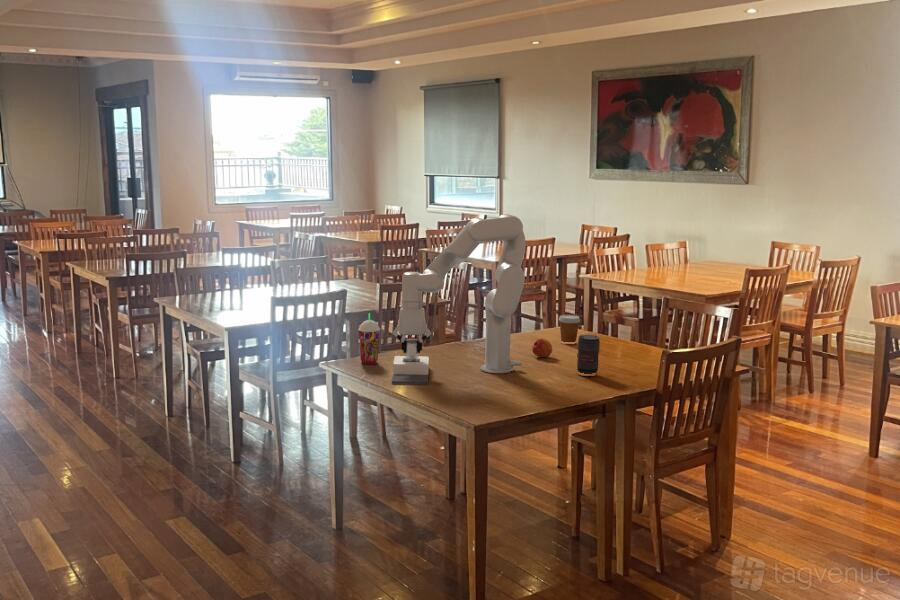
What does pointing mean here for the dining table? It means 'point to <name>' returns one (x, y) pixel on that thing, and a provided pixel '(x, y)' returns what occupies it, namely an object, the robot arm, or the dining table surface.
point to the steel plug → (411, 350)
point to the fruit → (542, 348)
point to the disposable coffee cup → (569, 327)
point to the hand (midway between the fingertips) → (411, 351)
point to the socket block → (411, 366)
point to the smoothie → (369, 341)
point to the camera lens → (588, 354)
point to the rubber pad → (409, 379)
